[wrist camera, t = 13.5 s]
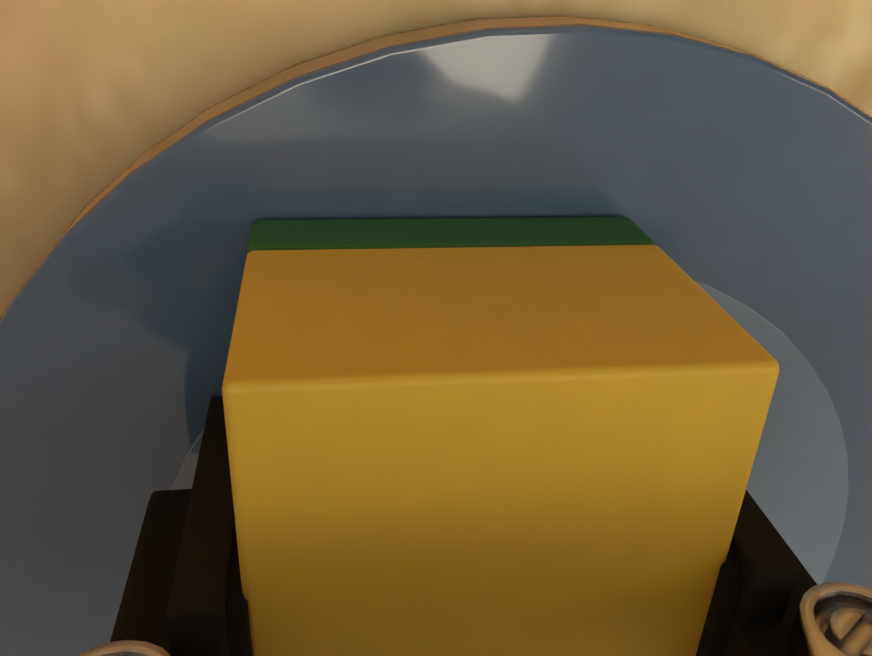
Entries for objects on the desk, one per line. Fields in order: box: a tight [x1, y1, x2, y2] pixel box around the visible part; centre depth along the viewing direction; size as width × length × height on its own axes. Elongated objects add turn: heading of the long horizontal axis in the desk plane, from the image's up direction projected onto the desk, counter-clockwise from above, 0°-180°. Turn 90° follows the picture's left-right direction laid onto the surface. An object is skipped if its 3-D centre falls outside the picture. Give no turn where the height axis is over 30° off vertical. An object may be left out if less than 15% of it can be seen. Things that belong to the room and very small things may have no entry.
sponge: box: [222, 217, 779, 656], centre depth 10 cm, size 5×8×4 cm, turn 178°
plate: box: [0, 16, 872, 656], centre depth 14 cm, size 18×18×1 cm
